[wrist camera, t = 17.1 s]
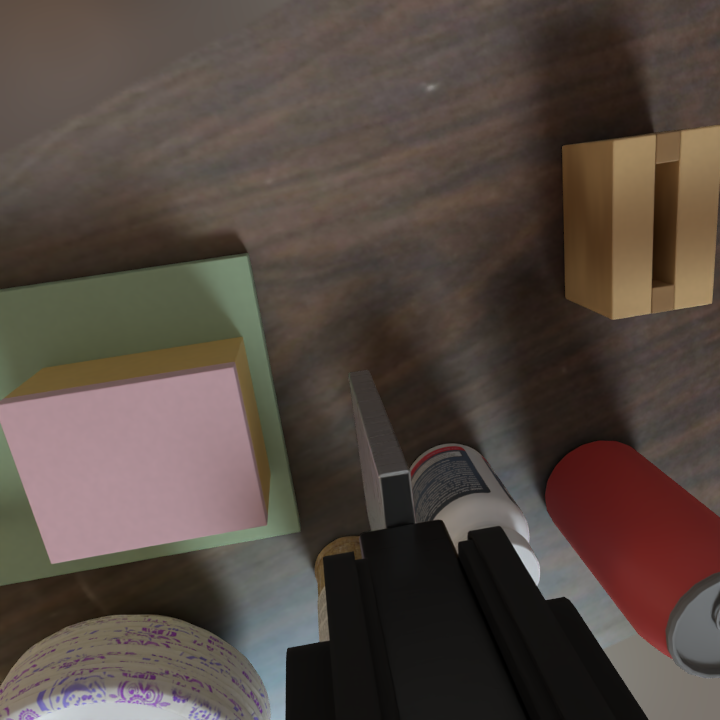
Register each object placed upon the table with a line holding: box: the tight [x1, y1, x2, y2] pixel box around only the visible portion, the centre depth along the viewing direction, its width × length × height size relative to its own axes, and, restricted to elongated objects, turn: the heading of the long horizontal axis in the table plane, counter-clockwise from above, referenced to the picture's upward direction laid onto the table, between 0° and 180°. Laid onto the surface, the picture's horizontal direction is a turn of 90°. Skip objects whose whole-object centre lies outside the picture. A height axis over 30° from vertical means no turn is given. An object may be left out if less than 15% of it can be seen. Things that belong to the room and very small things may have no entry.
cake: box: [0, 337, 271, 564], centre depth 28 cm, size 8×10×5 cm
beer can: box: [545, 441, 720, 678], centre depth 30 cm, size 7×7×12 cm
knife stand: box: [562, 125, 720, 320], centre depth 28 cm, size 8×5×5 cm, turn 8°
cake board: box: [0, 253, 301, 586], centre depth 31 cm, size 16×20×1 cm
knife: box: [348, 370, 531, 720], centre depth 11 cm, size 4×2×12 cm, turn 7°
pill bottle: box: [410, 443, 540, 585], centre depth 30 cm, size 5×5×9 cm
